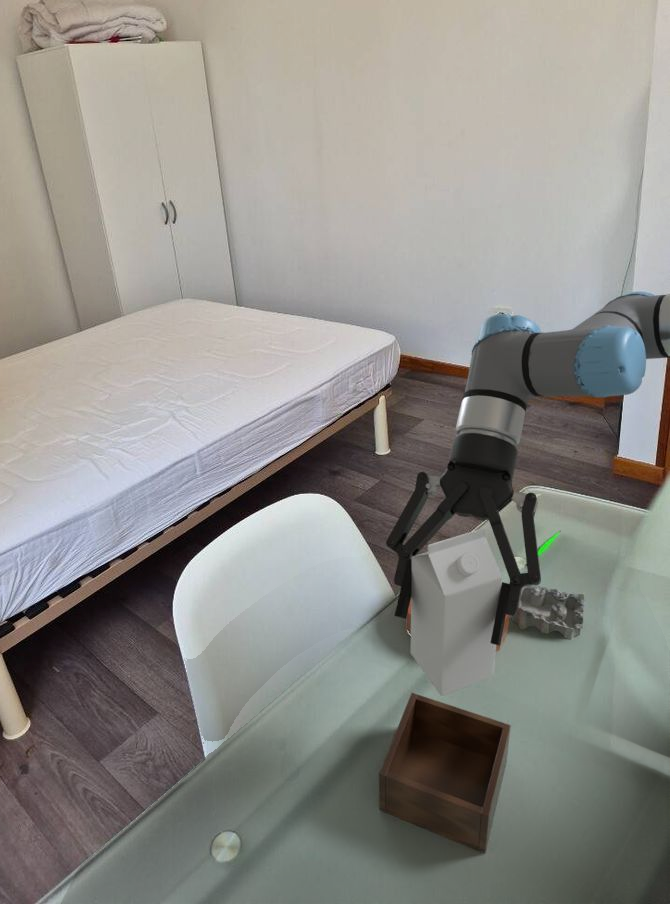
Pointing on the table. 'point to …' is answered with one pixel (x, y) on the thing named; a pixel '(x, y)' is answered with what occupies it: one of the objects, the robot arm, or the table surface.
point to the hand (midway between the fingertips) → (446, 630)
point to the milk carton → (455, 611)
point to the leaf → (546, 544)
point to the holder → (445, 771)
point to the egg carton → (550, 610)
